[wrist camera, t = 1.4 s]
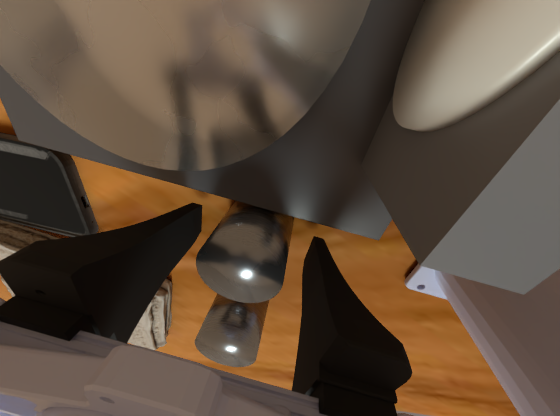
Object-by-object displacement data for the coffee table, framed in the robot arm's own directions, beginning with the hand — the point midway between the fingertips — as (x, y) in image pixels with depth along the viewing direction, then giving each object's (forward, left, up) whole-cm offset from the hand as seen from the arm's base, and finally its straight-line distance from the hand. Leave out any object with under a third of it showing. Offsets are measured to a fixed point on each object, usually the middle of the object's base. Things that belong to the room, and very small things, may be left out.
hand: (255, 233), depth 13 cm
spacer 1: (0, 0, -2) cm, 2 cm away
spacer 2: (0, +8, -2) cm, 8 cm away
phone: (+21, +3, -2) cm, 21 cm away
